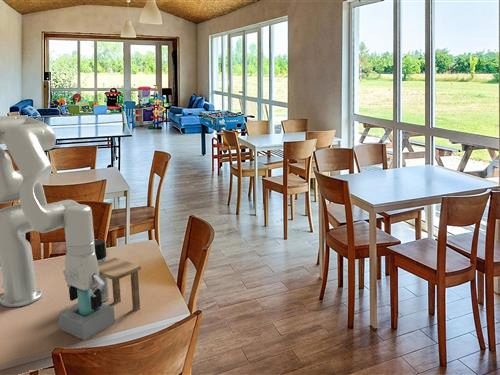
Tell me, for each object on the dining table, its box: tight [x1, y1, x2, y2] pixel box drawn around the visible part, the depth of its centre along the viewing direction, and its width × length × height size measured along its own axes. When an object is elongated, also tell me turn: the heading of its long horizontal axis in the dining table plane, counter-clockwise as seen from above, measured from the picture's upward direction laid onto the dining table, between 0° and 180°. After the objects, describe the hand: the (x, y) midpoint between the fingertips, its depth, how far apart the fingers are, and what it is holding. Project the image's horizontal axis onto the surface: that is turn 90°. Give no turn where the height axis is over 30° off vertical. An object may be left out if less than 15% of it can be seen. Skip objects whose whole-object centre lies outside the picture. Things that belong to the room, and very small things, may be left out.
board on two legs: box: [98, 257, 142, 311], centre depth 141 cm, size 12×10×15 cm
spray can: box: [92, 238, 110, 304], centre depth 148 cm, size 7×7×20 cm
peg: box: [77, 288, 94, 317], centre depth 132 cm, size 4×4×12 cm
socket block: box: [57, 302, 116, 341], centre depth 133 cm, size 11×11×5 cm
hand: (85, 303), depth 132 cm, fingers open, 9 cm apart
